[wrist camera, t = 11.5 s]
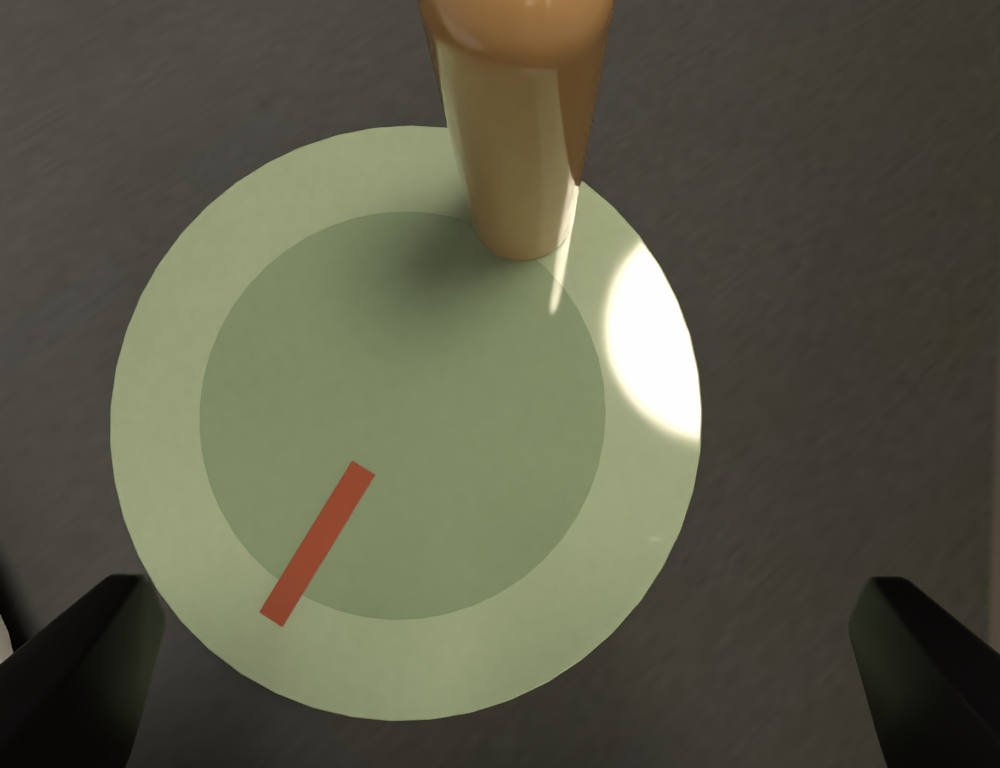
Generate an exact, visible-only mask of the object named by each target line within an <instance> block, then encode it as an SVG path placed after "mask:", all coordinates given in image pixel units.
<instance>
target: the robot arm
mask: <svg viewBox="0 0 1000 768" xmlns="http://www.w3.org/2000/svg"><path fill="white" fill-rule="evenodd" d="M165 628H166V617H165V613H164V610H163V608H162V605H161V603H160V601H159V599H158V596H157V594H156V592H155V589H154V587H153V585H152V582H151V580H150V579H149V577H147V576H146V575H145V574H141V573H117V574H112V575H110V576H108V577H106V578H105V579H104V580H102V581H101V582H100V583H99V584H97V585H96V586H95V587H94V588H93V589H91V590H90V591H89V592H88V593H86V594H85V595H84V596H83V597H82V598H80V599H79V600H78V601H77V602H75V603H74V604H73V605H72V606H70V607H69V608H68V609H67V610H66V611H64V612H63V613H62V614H61V615H59V616H58V617H57V618H56V619H55V620H53V621H52V622H51V623H50V624H48V625H47V626H46V627H45V628H44V629H42V630H41V631H40V632H39V633H37V634H36V635H35V636H34V637H32V638H31V639H30V640H29V641H28V642H26V643H25V644H24V645H23V646H21V647H20V648H19V649H18V650H17V651H15V652H14V653H13V654H12V655H10V656H9V657H8V658H7V659H5V660H4V661H3V662H2V663H1V664H0V768H126V765H127V762H128V759H129V757H130V754H131V751H132V748H133V744H134V741H135V738H136V735H137V731H138V728H139V724H140V720H141V717H142V713H143V710H144V706H145V702H146V699H147V695H148V692H149V688H150V684H151V681H152V677H153V674H154V670H155V666H156V663H157V659H158V656H159V652H160V648H161V645H162V641H163V638H164V634H165ZM849 635H850V639H851V643H852V647H853V650H854V654H855V657H856V661H857V665H858V668H859V672H860V675H861V679H862V683H863V686H864V690H865V693H866V697H867V700H868V704H869V708H870V711H871V715H872V718H873V722H874V726H875V729H876V733H877V736H878V740H879V743H880V746H881V749H882V753H883V756H884V759H885V762H886V764H887V767H888V768H1000V654H999V653H998V652H996V651H995V650H994V649H993V648H992V647H990V646H989V645H988V644H987V643H985V642H984V641H983V640H982V639H981V638H979V637H978V636H977V635H976V634H974V633H973V632H972V631H971V630H969V629H968V628H967V627H966V626H965V625H963V624H962V623H961V622H960V621H958V620H957V619H956V618H955V617H953V616H952V615H951V614H950V613H949V612H947V611H946V610H945V609H944V608H942V607H941V606H940V605H939V604H937V603H936V602H935V601H934V600H933V599H931V598H930V597H929V596H928V595H926V594H925V593H924V592H923V591H921V590H920V589H919V588H918V587H917V586H915V585H914V584H913V583H911V582H910V581H908V580H907V579H905V578H902V577H871V578H869V579H868V580H867V581H866V582H865V584H864V586H863V588H862V590H861V592H860V595H859V597H858V599H857V601H856V603H855V606H854V608H853V610H852V612H851V615H850V618H849Z"/></svg>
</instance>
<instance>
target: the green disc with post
mask: <svg viewBox="0 0 1000 768" xmlns="http://www.w3.org/2000/svg"><path fill="white" fill-rule="evenodd" d="M417 1H418V6H419V11H420V15H421V19H422V24H423V28H424V32H425V36H426V40H427V44H428V48H429V52H430V57H431V61H432V65H433V69H434V73H435V77H436V81H437V85H438V90H439V94H440V98H441V102H442V106H443V110H444V114H445V119H446V123H447V127H448V128H442V127H424V126H398V127H383V128H371V129H366V130H361V131H356V132H351V133H346V134H341V135H336V136H333V137H330V138H327V139H324V140H321V141H318V142H315V143H312V144H308V145H305V146H302V147H300V148H298V149H296V150H294V151H291V152H289V153H287V154H285V155H283V156H281V157H279V158H277V159H274V160H272V161H270V162H268V163H266V164H265V165H263V166H262V167H260V168H259V169H257V170H255V171H254V172H252V173H251V174H249V175H247V176H246V177H244V178H243V179H241V180H239V181H238V182H236V183H235V184H234V185H233V186H231V187H230V188H229V189H228V190H227V191H225V192H224V193H223V194H222V195H220V196H219V197H218V198H217V199H216V200H214V201H213V202H212V203H211V204H209V205H208V206H207V207H206V208H205V209H204V210H203V211H202V212H201V213H200V214H199V216H198V217H197V218H196V219H195V220H194V221H193V222H192V223H191V224H190V225H189V226H188V227H187V228H186V229H185V230H184V231H183V232H182V233H181V235H180V236H179V237H178V239H177V240H176V241H175V243H174V244H173V245H172V247H171V248H170V249H169V251H168V252H167V253H166V255H165V256H164V258H163V259H162V260H161V262H160V263H159V265H158V266H157V268H156V270H155V272H154V273H153V275H152V277H151V279H150V280H149V282H148V284H147V286H146V287H145V289H144V291H143V293H142V294H141V296H140V299H139V301H138V304H137V306H136V308H135V311H134V313H133V316H132V318H131V320H130V323H129V325H128V328H127V330H126V333H125V337H124V341H123V344H122V348H121V351H120V355H119V359H118V362H117V366H116V372H115V379H114V386H113V393H112V400H111V416H110V447H111V456H112V465H113V473H114V482H115V486H116V490H117V494H118V498H119V502H120V506H121V510H122V514H123V518H124V521H125V524H126V526H127V529H128V531H129V534H130V536H131V539H132V541H133V544H134V546H135V549H136V552H137V554H138V556H139V558H140V560H141V562H142V563H143V565H144V567H145V569H146V571H147V572H148V574H149V576H150V578H151V580H152V581H153V583H154V585H155V587H156V589H157V590H158V591H159V593H160V594H161V595H162V597H163V598H164V599H165V601H166V602H167V603H168V605H169V606H170V607H171V609H172V610H173V611H174V613H175V614H176V615H177V617H178V618H179V619H180V621H181V622H182V623H183V624H184V625H185V626H186V627H187V628H188V629H189V630H190V631H191V632H192V633H193V634H194V635H195V636H196V637H197V638H198V639H199V640H200V641H201V642H202V643H203V644H204V645H205V646H206V647H207V648H208V649H209V650H210V651H212V652H213V653H214V654H216V655H217V656H218V657H220V658H221V659H222V660H223V661H225V662H226V663H227V664H229V665H230V666H231V667H233V668H234V669H235V670H237V671H238V672H239V673H241V674H242V675H244V676H246V677H248V678H249V679H251V680H253V681H255V682H257V683H258V684H260V685H262V686H264V687H265V688H267V689H269V690H271V691H272V692H274V693H277V694H279V695H282V696H284V697H287V698H289V699H292V700H294V701H297V702H299V703H302V704H304V705H307V706H309V707H312V708H316V709H320V710H324V711H328V712H332V713H336V714H340V715H345V716H349V717H355V718H365V719H375V720H385V721H409V720H433V719H439V718H444V717H450V716H456V715H461V714H467V713H472V712H476V711H479V710H482V709H485V708H488V707H491V706H494V705H497V704H500V703H503V702H507V701H510V700H512V699H514V698H516V697H518V696H521V695H523V694H525V693H527V692H529V691H531V690H533V689H535V688H537V687H539V686H541V685H543V684H545V683H548V682H549V681H551V680H552V679H554V678H555V677H557V676H558V675H560V674H561V673H563V672H564V671H566V670H567V669H569V668H570V667H572V666H573V665H575V664H576V663H578V662H580V661H581V660H583V659H584V658H585V657H586V656H587V655H588V654H589V653H591V652H592V651H593V650H594V649H595V648H596V647H597V646H599V645H600V644H601V643H602V642H603V641H604V640H605V639H607V638H608V637H609V636H610V635H611V634H612V633H613V632H614V631H615V630H616V629H617V628H618V627H619V626H620V624H621V623H622V622H623V621H624V620H625V619H626V617H627V616H628V615H629V614H630V613H631V612H632V611H633V609H634V608H635V607H636V606H637V605H638V604H639V603H640V601H641V600H642V598H643V597H644V595H645V594H646V592H647V591H648V589H649V588H650V586H651V585H652V583H653V582H654V580H655V579H656V577H657V576H658V574H659V573H660V571H661V569H662V568H663V566H664V564H665V562H666V560H667V558H668V556H669V554H670V552H671V550H672V547H673V545H674V543H675V541H676V539H677V537H678V535H679V533H680V531H681V528H682V525H683V522H684V519H685V516H686V513H687V509H688V506H689V503H690V500H691V497H692V494H693V490H694V485H695V479H696V474H697V469H698V463H699V458H700V451H701V431H702V402H701V390H700V378H699V371H698V366H697V362H696V357H695V353H694V348H693V343H692V339H691V335H690V332H689V329H688V327H687V324H686V321H685V318H684V315H683V313H682V310H681V307H680V304H679V302H678V299H677V297H676V295H675V293H674V291H673V289H672V287H671V286H670V284H669V282H668V280H667V278H666V276H665V274H664V272H663V270H662V268H661V266H660V265H659V263H658V262H657V260H656V259H655V257H654V256H653V255H652V253H651V252H650V250H649V249H648V247H647V246H646V245H645V243H644V242H643V240H642V239H641V237H640V236H639V235H638V233H637V232H636V231H635V230H634V229H633V228H632V227H631V226H630V225H629V224H628V222H627V221H626V220H625V219H624V218H623V217H622V216H621V215H620V214H619V213H618V212H617V210H616V209H615V208H614V207H613V206H612V205H611V204H609V203H608V202H607V201H606V200H605V199H603V198H602V197H601V196H600V195H599V194H598V193H596V192H595V191H594V190H593V189H592V188H590V187H589V186H588V185H587V184H586V183H584V182H583V181H582V176H583V171H584V165H585V160H586V155H587V149H588V144H589V139H590V133H591V128H592V123H593V117H594V112H595V107H596V101H597V96H598V90H599V85H600V80H601V74H602V69H603V64H604V58H605V53H606V48H607V42H608V37H609V32H610V26H611V21H612V16H613V10H614V5H615V0H417Z"/></svg>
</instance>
